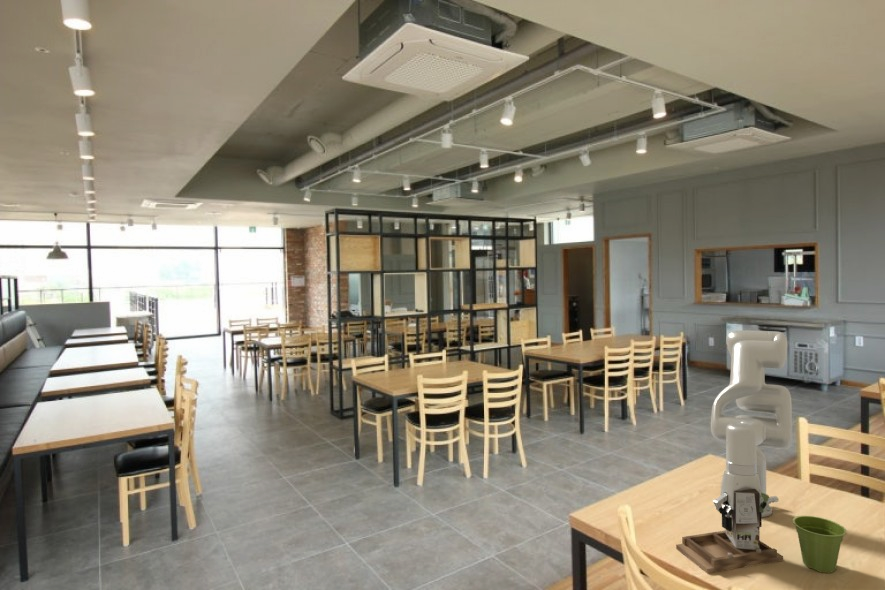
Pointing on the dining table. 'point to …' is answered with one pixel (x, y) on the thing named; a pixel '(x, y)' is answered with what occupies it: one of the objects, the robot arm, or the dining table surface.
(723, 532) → the divided wooden tray
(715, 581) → the dining table surface
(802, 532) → the plant pot
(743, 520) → the coffee box
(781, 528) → the dining table surface
